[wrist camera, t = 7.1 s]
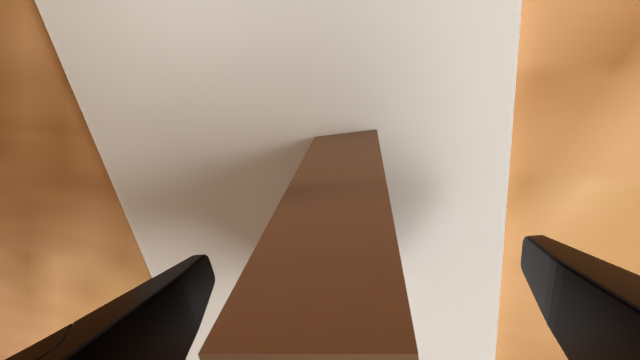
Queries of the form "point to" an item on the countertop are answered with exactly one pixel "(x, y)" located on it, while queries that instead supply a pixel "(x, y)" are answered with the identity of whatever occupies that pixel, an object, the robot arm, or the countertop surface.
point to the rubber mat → (306, 131)
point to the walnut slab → (323, 268)
